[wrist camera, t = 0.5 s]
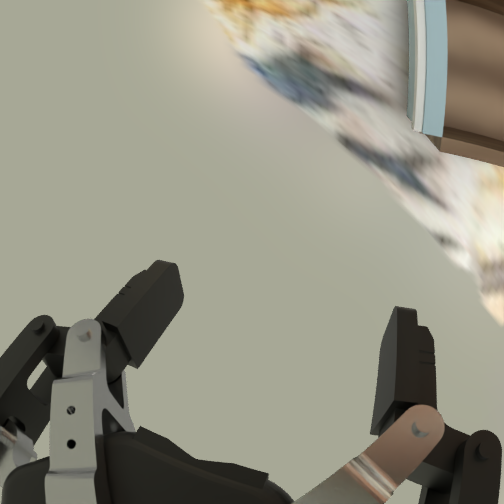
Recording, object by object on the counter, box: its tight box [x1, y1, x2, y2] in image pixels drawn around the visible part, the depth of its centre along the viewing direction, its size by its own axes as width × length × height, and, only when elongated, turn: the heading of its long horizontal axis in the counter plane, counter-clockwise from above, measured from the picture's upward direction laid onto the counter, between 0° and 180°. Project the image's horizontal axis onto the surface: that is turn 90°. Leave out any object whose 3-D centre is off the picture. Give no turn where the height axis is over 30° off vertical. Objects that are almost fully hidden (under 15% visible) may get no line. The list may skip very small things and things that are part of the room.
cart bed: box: [420, 0, 504, 167], centre depth 18 cm, size 16×12×10 cm
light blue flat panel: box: [407, 0, 448, 137], centre depth 18 cm, size 13×2×9 cm, turn 3°
